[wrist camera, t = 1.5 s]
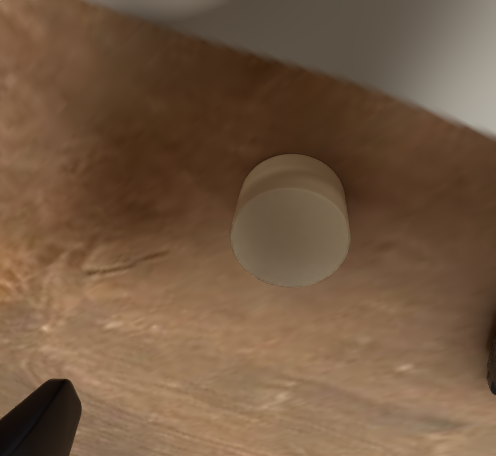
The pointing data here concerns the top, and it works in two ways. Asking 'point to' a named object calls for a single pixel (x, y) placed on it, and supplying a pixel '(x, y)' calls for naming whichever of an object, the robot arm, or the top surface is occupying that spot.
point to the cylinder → (291, 222)
